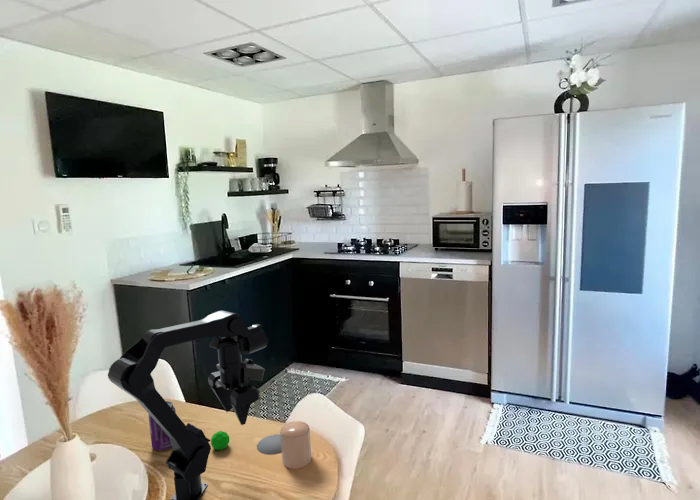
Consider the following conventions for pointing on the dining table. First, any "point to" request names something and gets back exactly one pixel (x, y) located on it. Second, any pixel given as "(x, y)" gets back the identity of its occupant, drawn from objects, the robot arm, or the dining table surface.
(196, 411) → the dining table surface
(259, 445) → the rubber mat
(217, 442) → the polyhedron
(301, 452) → the cover cup
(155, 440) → the beverage can
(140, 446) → the dining table surface
